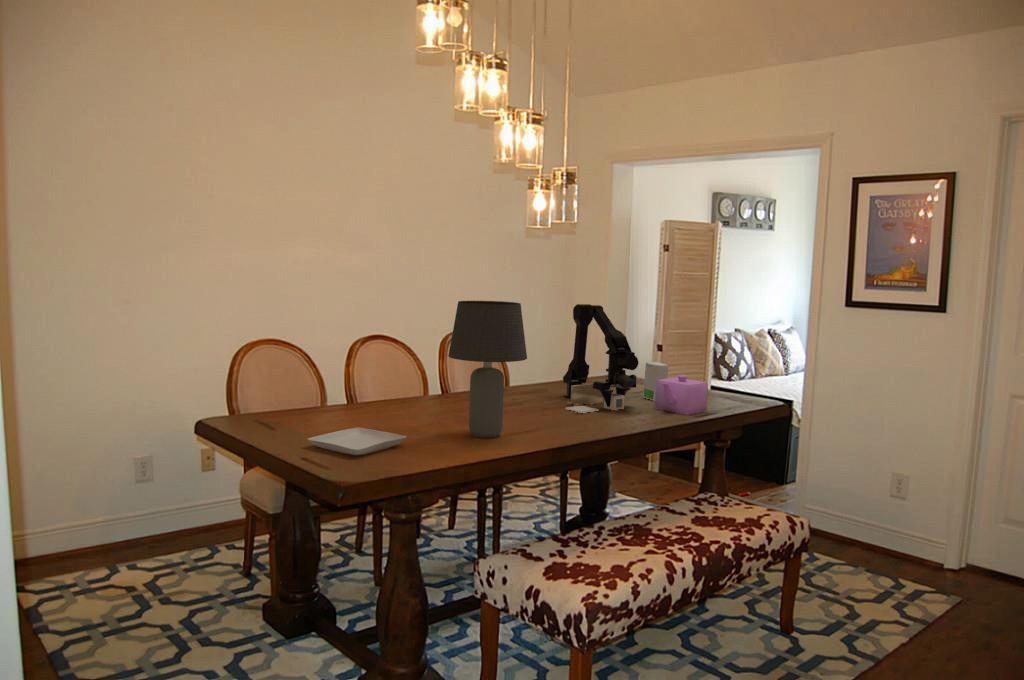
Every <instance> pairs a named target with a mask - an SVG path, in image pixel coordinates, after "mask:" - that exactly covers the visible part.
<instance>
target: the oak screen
mask: <svg viewBox="0 0 1024 680" xmlns="http://www.w3.org/2000/svg"><path fill="white" fill-rule="evenodd" d="M601 402H602V403H603V402H604V397H603V395H602V393H601V392H600V390H598V389H593V383H582V385H572V386H571V398H570V401H568V402H567V406H571V405H573V406H572V407H575V406H584V405H583V404H587V405H588V404H595V403H596V404H602V403H601Z"/></svg>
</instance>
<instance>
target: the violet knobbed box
mask: <svg viewBox="0 0 1024 680" xmlns="http://www.w3.org/2000/svg"><path fill="white" fill-rule="evenodd" d="M708 389H709V382H706V381H700V380H694V379H688V376H687V375H684V374H678V375H677V377H668V378H667V379H661V380H657V381H656V400H655V401H654V402H655V405H654V409H655V408H657V409H656V410H658V409H661V410H660V411H663V410H666V411H665V412H668V411H670V412H669V413H673V412H675V413H674V414H678V413H680V414H679V415H683V414H685V415H684V416H691V415H690V414H692V415H695V414H694V413H697V414H700V413H699V412H702V413H704V412H703V411H706V412H707V404H708V391H709V390H708Z"/></svg>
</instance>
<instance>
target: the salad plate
mask: <svg viewBox="0 0 1024 680" xmlns="http://www.w3.org/2000/svg"><path fill="white" fill-rule="evenodd" d="M406 439H407V436H406V435H402V434H397V433H393V432H387V431H381V430H375V429H369V428H364V427H352V428H346V429H341V430H337V431H334V432H333V431H332V432H328V433H324V434H320V435H316V436H311V437H308V438H306V440H307V441H308V442H309V443H310V444H311V445H313V446H315V447H317V448H320V449H321V448H322V449H324V450H327V451H333V452H336V453H342V454H345V455H351V456H363V455H367V454H371V453H376V452H378V451H382V450H385V449H389V448H392V447H394V446H397V445H399V444H400V443H402V442H404V441H405V440H406Z"/></svg>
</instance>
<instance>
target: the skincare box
mask: <svg viewBox="0 0 1024 680" xmlns="http://www.w3.org/2000/svg"><path fill="white" fill-rule="evenodd" d="M644 367H645V371H644V380H643V381H644V382H643V392H642V393H643V394H642V398H643V399H645V398H646V400H648V399H650V400H649V401H651V400H653V401H652V402H655V400H656V381H657V380H661V379H669V377H668V375H669V364H665V363H664V362H663V363H662V362H658V361H650V362H649V361H647V362H645V366H644Z"/></svg>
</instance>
